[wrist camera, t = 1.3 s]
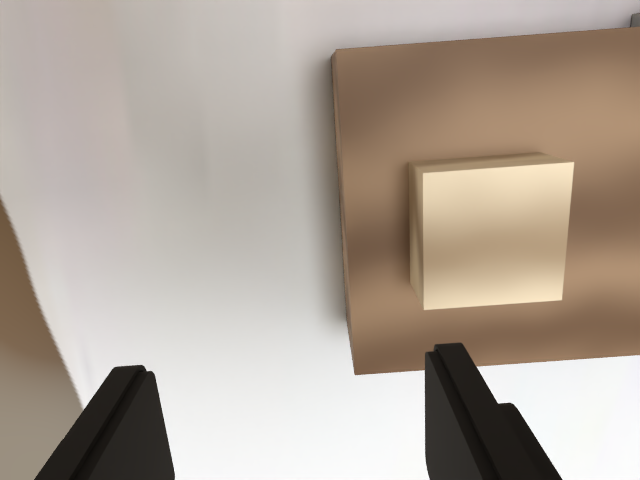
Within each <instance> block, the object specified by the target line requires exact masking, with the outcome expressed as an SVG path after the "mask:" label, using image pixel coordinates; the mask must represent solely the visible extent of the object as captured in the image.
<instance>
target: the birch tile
mask: <svg viewBox="0 0 640 480" xmlns="http://www.w3.org/2000/svg"><path fill="white" fill-rule="evenodd" d="M573 170H574V162H572V161H569V160H565V159H562V158H559V157H555V156H552V155H548V154H545V153H541V152H535V153H521V154H508V155H494V156H481V157H467V158H453V159H440V160H426V161H413V162H409V224H410V283H411V285H412V287H413V289H414V291H415V293H416V295H417V297H418V300H419V302H420V304H421V306H422V308H423V310H432V309H446V308H460V307H474V306H488V305H502V304H516V303H530V302H544V301H558V300H562V293H563V282H564V271H565V259H566V248H567V237H568V226H569V215H570V203H571V192H572V181H573Z"/></svg>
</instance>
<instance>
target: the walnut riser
mask: <svg viewBox="0 0 640 480" xmlns="http://www.w3.org/2000/svg"><path fill="white" fill-rule="evenodd" d="M331 66H332V83H333V100H334V116H335V133H336V150H337V166H338V183H339V200H340V216H341V233H342V250H343V266H344V283H345V300H346V316H347V326H348V333H349V340H350V347H351V353H352V360H353V367H354V374H355V375H363V374H377V373H391V372H405V371H419V370H425V353H426V352H429V351H433V349H434V345H435V344H444V343H459V342H461V343H462V344H463V345H464V346H465V348H466V350H467V352H468V353H469V355H470V357H471V358H472V360H473V362H474V364H475V365H476V366H490V365H504V364H518V363H532V362H546V361H561V360H575V359H589V358H603V357H617V356H631V355H640V27H628V28H615V29H602V30H588V31H575V32H562V33H548V34H535V35H522V36H508V37H495V38H482V39H468V40H455V41H442V42H428V43H415V44H402V45H388V46H375V47H362V48H348V49H336V51H335V52H334V53H333V55H332V56H331ZM535 152H541V153H545V154H548V155H552V156H555V157H559V158H562V159H565V160H569V161H572V162H574V170H573V181H572V192H571V203H570V215H569V226H568V237H567V248H566V259H565V271H564V282H563V293H562V300H558V301H544V302H530V303H516V304H502V305H488V306H474V307H460V308H446V309H432V310H423V308H422V306H421V304H420V302H419V300H418V297H417V295H416V293H415V291H414V289H413V287H412V285H411V283H410V224H409V162H413V161H426V160H440V159H453V158H467V157H481V156H494V155H508V154H521V153H535Z"/></svg>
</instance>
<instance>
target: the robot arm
mask: <svg viewBox="0 0 640 480" xmlns="http://www.w3.org/2000/svg"><path fill="white" fill-rule="evenodd" d="M425 457H426V465H427V471H428V475H429V478H430V480H562V478H561V477H560V475H559V473H558V472H557V470H556V469H555V467H554V466H553V464H552V462H551V461H550V459H549V458H548V456H547V455H546V453H545V451H544V450H543V448H542V447H541V445H540V444H539V442H538V440H537V439H536V437H535V436H534V434H533V433H532V431H531V429H530V428H529V426H528V425H527V423H526V422H525V420H524V418H523V417H522V415H521V414H520V412H519V411H518V409H517V408H516V407H515V405H514V404H511V403H500V404H498V403H497V401H496V400H495V398H494V396H493V394H492V393H491V391H490V389H489V388H488V386H487V384H486V382H485V381H484V379H483V377H482V376H481V374H480V372H479V370H478V369H477V367H476V365H475V364H474V362H473V360H472V358H471V357H470V355H469V353H468V352H467V350H466V348H465V346H464V345H463V344H462V343H461V342H459V343H444V344H435V345H434V349H433V351H429V352H426V353H425ZM34 480H175V473H174V467H173V462H172V457H171V453H170V448H169V443H168V438H167V433H166V428H165V423H164V418H163V413H162V408H161V403H160V398H159V393H158V388H157V383H156V378H155V375H154V373H153V372H152V371H146V369H145V367H144V366H143V365H134V366H120V367H114V368H113V369H112V371H111V372H110V373H109V375H108V376H107V378H106V379H105V380H104V382H103V383H102V385H101V386H100V388H99V389H98V390H97V392H96V393H95V395H94V396H93V398H92V399H91V400H90V402H89V403H88V405H87V406H86V408H85V409H84V410H83V412H82V413H81V415H80V416H79V418H78V419H77V420H76V422H75V424H74V425H73V426H72V428H71V429H70V430H69V432H68V433H67V435H66V436H65V438H64V439H63V440H62V441H61V442H60V444H59V445H58V446H57V448H56V449H55V451H54V452H53V454H52V455H51V456H50V458H49V459H48V461H47V462H46V464H45V465H44V466H43V468H42V469H41V471H40V472H39V473H38V475H37V476H36V478H35V479H34Z"/></svg>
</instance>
